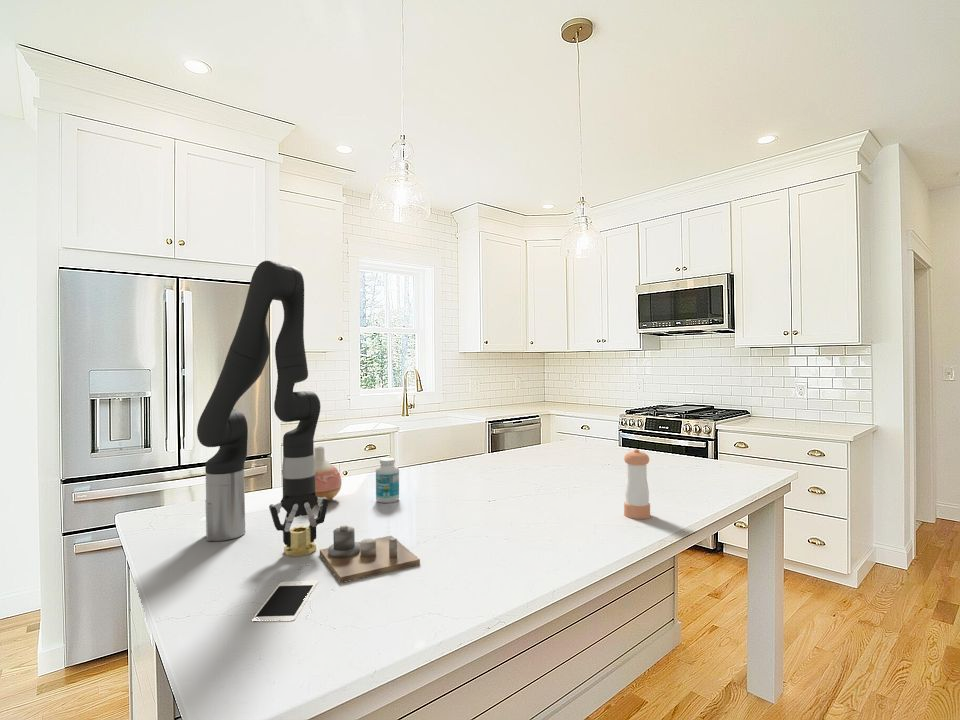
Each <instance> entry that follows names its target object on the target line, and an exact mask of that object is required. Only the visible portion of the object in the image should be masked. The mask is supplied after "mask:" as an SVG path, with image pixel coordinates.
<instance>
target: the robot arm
mask: <svg viewBox="0 0 960 720" xmlns="http://www.w3.org/2000/svg"><path fill="white" fill-rule="evenodd" d="M273 300H274V301H279V302H281V305H282V308H283V322H282V324H281V329H280V331H279V333H278V336H277V339H276V342H275V346H274V357H275V365H276V373H277V382H276V390H275V396H274V403H273V409H274V413H275V416H276V417H277V419H279V420H280V421H281V422H283V423H291V422H292V423H293V422H298V421H299V422H298V425H297V427H295V428H294V429H292V430H290V431H287V432H285V433H284V434H283V437H282V453H283V454H282V455H283V456H282V457H283V458H282V465H281V467H282V468H281V469H282V470H281V475H282V499H281V501H280V502H278V503H275V504H269V506H268V508H269V512H270V515H271V518H272V522H273V525H274V527H275V529H276V530H277V531H281V532H282V542H283V544H284V545H285V546H287V547H290V546H291V535H290V529H291V527H292V523H293V522H294V519H295V518H297V517H300V516H306V518H307V520H308V522H309V525H308V527H309V528H310V529H311V543H312V542H314V543H315V540H316V539H317V526H318V525H320V524H324V522H325V519H326V516H327V515H326V514H327V510H328V506H329V502H330V501H329V500H328V499H327V498H326V497H322V498H320V497H317V496H316V493H315V460H314V448H315V447H314V443H315V440H314V439H315V438H314V437H315V433H316V428H317V425H318V421H319V418H320V413H321V401H320V398H319V396H318V394H316V392H314V391H311V390H304V391H294V387H295V384H298V383H301V382H305V380H307V379H308V378H309V370H308V361H307V355H306V350H305V349H306V348H305V339H304V326H305V325H304V324H305V280H304V277H303V274H302V272H301V271H300V269H298V268H297V267H296V266H293V265H289V264H285V263H281V262H277V261H273V260H263V261H261V262H260V263H259V264H258V265H257V266H256V268H255V269H254V271H253V273H252V276H251V280H250V283H249V288H248V291H247V294H246V299H245V303H244V307H243V309H242V313H241V317H240V320H239V322H238V325H237V329H236V330H235V334H234V335H233V336H234V337H233V339H232V341H231V344H230V346H229V349H228V352H227V355H226V357H225V360H224V363H223V367H222V369H221V371H220V374H219V377H218V379H217V381H216V384H215V386H214V388H213V391H212V393H211V395H210V396H209V400H208V401H207V403H206V405H205V407H204V409H203V411H202V413H201V414H200V417H199V420H198V423H197V427H196V434H197V439H198V440H197V441H199V443H200V444H201V445H202V446H204V447H206V448H218V447H219V448H218V451H217V452H216V453H215V454H214V455H213V456H212V457H210V458H209V459H207V460H206V462H205V467H204V469H205V536H206V541H207V542H212V541H214V542H218V541H219V542H221V541H228V540H234V539H236V538H239V537H242V536H243V535H244V534H245V533H246V505H245V504H246V502H245V501H246V499H245V498H246V496H245V462H246V459H247V456H248V438H249V437H248V435H249V434H248V433H249V429H248V421H247V417H246V416H245V413H243V412H242V411H241V410H240V409H236V408H234V407H235V405H236V404H237V403H238V401H239V400H240V398H241V397H242V396H244V394H245V393H246V392H247V391H248V390H249V389H250V388H251V387H252V386H253V384H255V382H256V381H257V380H258V379H259V378H260V377H261V375H262V373H263V371H264V369H265V366H266V363H267V361H268V359H269V356H270V353H271V342H270V339H269V333H268V329H267V316H268V313H269V310H270V306H271V304H272V302H273ZM316 502H318V504H316ZM316 505H318V506H319V507H318V512H317V517H316V518H315V515H314V512H313V511H312V510H313V508H314V507H315V506H316ZM282 508H283V510H284V511H285V512H286V514H285V517H284V520H283V523H281V520H280V517H279V514H280V513H281V509H282Z"/></svg>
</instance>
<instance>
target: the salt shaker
mask: <svg viewBox="0 0 960 720" xmlns="http://www.w3.org/2000/svg"><path fill="white" fill-rule="evenodd" d="M623 460H624V462H625V463H626V483H625V488H624V497H625V498H624V499H625V500H624V503H623V515H624V516H625V517H626V518H630V519H635V520H645V519H646V520H647V519H649V518H650V517H651V504H650V502H649V501H650V498H649V497H650V491H649V490H650V489H649V484H648V477H647V476H648V475H647V474H648V473H647V472H648V471H647V470H648V469H647V467H648V466H647V465H648V464H649V462H650V457H649V455H648V454H647V453H645V452H643V451H640V450H639V449H638V448H635V449H634V450H633V451H629V452H626V454H625V455H624V458H623Z"/></svg>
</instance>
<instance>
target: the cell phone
mask: <svg viewBox="0 0 960 720" xmlns="http://www.w3.org/2000/svg"><path fill="white" fill-rule="evenodd" d="M317 582H318V583H319V581H318V580H306V581H305V580H304V581H301V580H300V581H281V582H279V584H278V585H277V586H276V587H275V589H274V590H273V591H272V593H271V594H270V595H269V596H268V597H267V599H266V600H265V601H264V603H263V604H262V605H261V607H260V608H259V609H258V611H257V612H255V614H254V615H256V614H257V615H256V616H255V618H256V617H258V618H259V619H260V620H261V621H262V620H263V621H265V620H266V621H267V620H268V621H270V620H271V621H272V620H273V621H274V620H284V619H285V620H286V618H287V620H289V619H293V618H294V617H296V615H297V614H298V613H299V614H300V612H301V611H300V609H301V607H303V608H304V606H303V604H304V602H307V601H308V600H307V599H306V600H307V601H305V599H304V598H306V597H307V595H309V593H311V592H312V593H313V591H314V590H315V588H316V587H317V585H318V583H317ZM316 584H317V585H316ZM315 586H316V587H315ZM314 587H315V588H314ZM313 589H314V590H313ZM312 590H313V591H312ZM310 591H311V592H310ZM307 593H308V594H307ZM312 593H311V594H312ZM305 596H306V597H305ZM303 599H304V600H303ZM304 605H305V604H304ZM301 610H302V609H301ZM299 611H300V612H299ZM299 614H298V615H299ZM286 616H287V617H286ZM290 617H291V618H290ZM292 617H293V618H292ZM258 618H256V619H257V620H259V619H258ZM288 618H289V619H288ZM296 618H297V617H296ZM294 619H295V618H294ZM295 620H296V619H295Z"/></svg>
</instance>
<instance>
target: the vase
mask: <svg viewBox="0 0 960 720" xmlns="http://www.w3.org/2000/svg"><path fill="white" fill-rule="evenodd" d="M314 460H315V493H316V496H317V497H320V498H322V497H326V498H327V499H328V500H329V502H331V501H332V500H333V499H334V498H335V497H336V496H337V495H338V494H339V493H340V491H341V488H342V485H343V484H342V476H341V473H340V472H339V470H338V469H337V468H336V466H334V465H333V464H332V463H330V462H328V461H327V460H326V458H325V447H324V446H315V447H314ZM315 505H318V502H316V504H315Z"/></svg>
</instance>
